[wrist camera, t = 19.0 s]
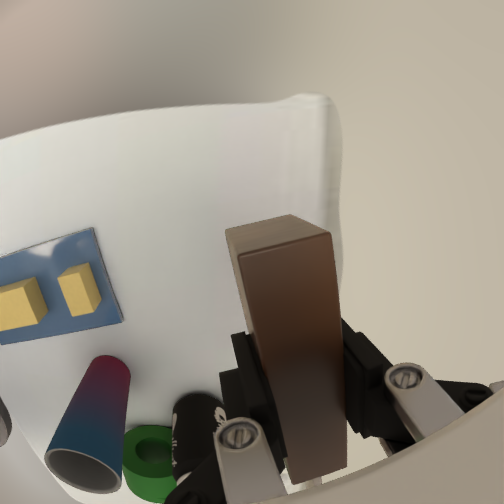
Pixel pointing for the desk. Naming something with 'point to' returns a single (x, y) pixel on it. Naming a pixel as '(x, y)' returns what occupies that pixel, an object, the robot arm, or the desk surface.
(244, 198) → the desk surface
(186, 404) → the beverage can
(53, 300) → the butter plate
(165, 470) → the tape dispenser
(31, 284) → the butter bar
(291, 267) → the knife
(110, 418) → the cup
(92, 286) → the butter pat
